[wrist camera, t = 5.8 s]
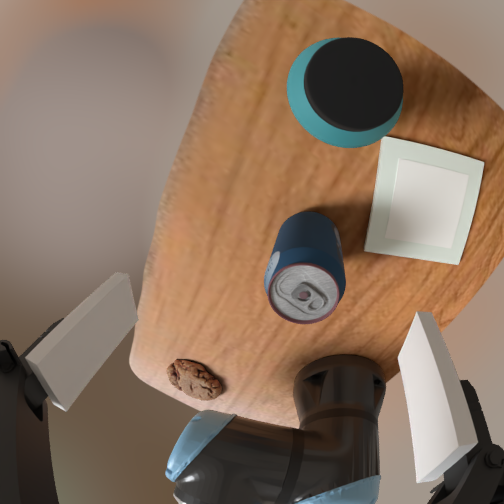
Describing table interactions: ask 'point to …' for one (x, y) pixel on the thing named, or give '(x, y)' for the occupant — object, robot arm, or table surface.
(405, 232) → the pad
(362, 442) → the robot arm
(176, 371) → the cookie
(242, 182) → the table surface
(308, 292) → the soda can
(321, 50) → the beverage bottle
